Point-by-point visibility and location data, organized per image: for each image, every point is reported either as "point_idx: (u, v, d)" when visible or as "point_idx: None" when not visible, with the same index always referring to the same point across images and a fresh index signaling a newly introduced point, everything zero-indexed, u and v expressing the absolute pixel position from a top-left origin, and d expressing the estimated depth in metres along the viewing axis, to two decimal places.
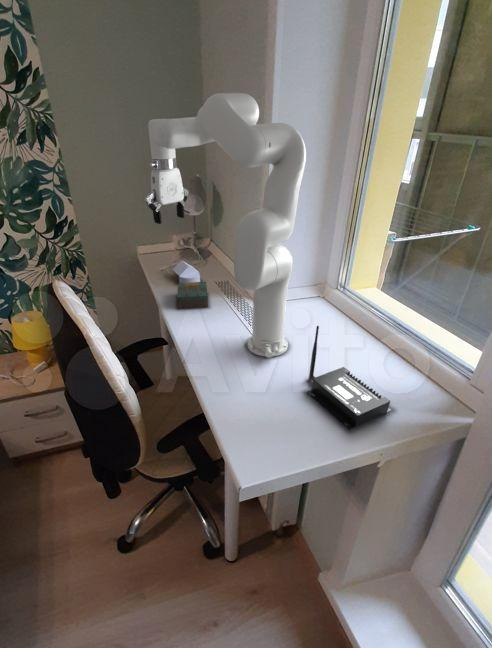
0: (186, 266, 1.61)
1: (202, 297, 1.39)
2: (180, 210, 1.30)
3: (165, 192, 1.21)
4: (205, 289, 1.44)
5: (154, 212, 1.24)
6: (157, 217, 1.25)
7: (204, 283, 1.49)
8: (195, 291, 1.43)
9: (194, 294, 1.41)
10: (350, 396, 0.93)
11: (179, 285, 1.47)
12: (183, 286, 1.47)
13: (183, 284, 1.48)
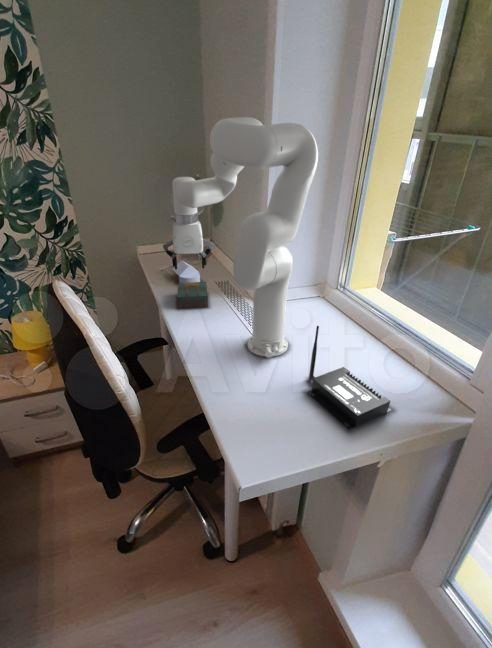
0: (186, 266, 1.61)
1: (202, 297, 1.39)
2: (202, 261, 1.33)
3: (180, 243, 1.27)
4: (205, 289, 1.44)
5: (172, 258, 1.33)
6: (173, 263, 1.33)
7: (204, 283, 1.49)
8: (195, 291, 1.43)
9: (194, 294, 1.41)
10: (350, 396, 0.93)
11: (179, 285, 1.47)
12: (183, 286, 1.47)
13: (183, 284, 1.48)
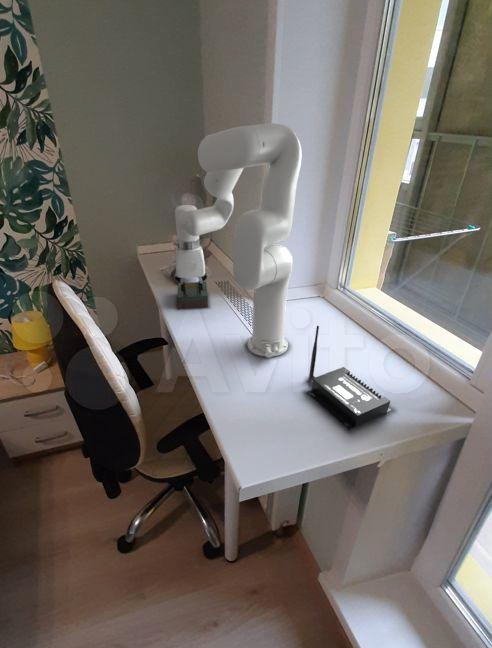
0: None
1: (202, 297, 1.39)
2: None
3: (182, 268, 1.32)
4: (205, 289, 1.44)
5: None
6: (182, 288, 1.38)
7: (204, 283, 1.49)
8: (195, 291, 1.43)
9: (194, 294, 1.41)
10: (350, 396, 0.93)
11: (179, 285, 1.47)
12: None
13: None
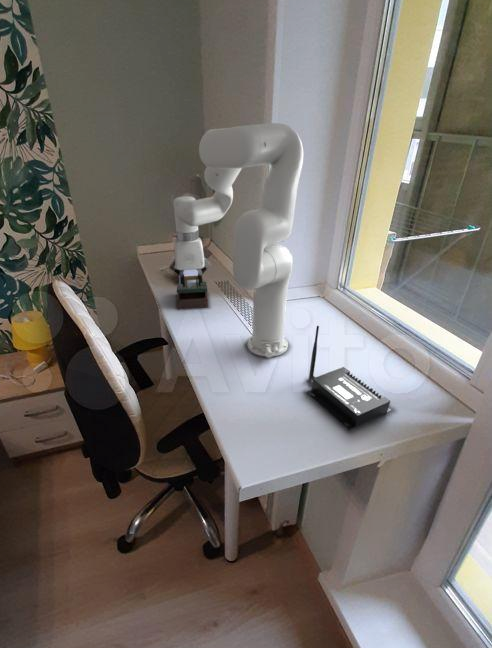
0: None
1: (202, 290, 1.38)
2: (198, 279, 1.38)
3: (181, 260, 1.32)
4: (205, 285, 1.44)
5: (180, 276, 1.37)
6: (181, 281, 1.38)
7: (204, 282, 1.49)
8: (195, 286, 1.42)
9: (194, 287, 1.40)
10: (350, 396, 0.93)
11: (179, 284, 1.47)
12: (182, 284, 1.47)
13: None
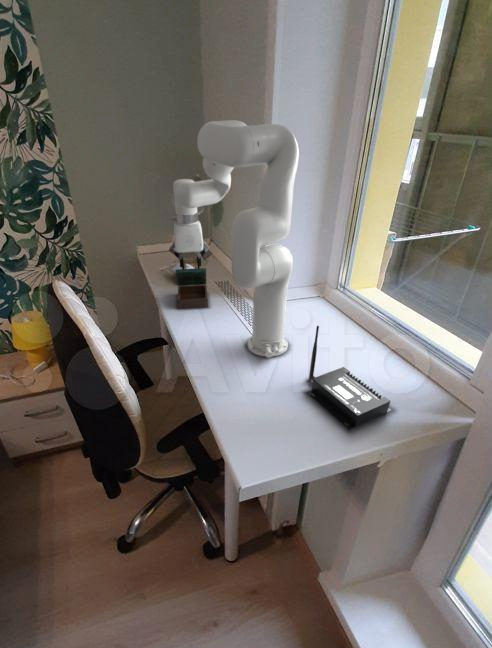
0: (186, 266, 1.61)
1: (200, 269, 1.37)
2: (197, 262, 1.40)
3: (181, 242, 1.34)
4: None
5: (179, 259, 1.40)
6: (180, 264, 1.40)
7: None
8: None
9: None
10: (350, 396, 0.93)
11: None
12: None
13: None
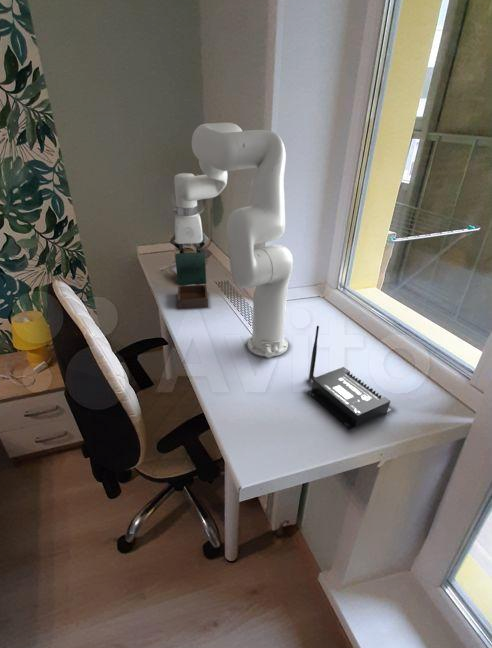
0: None
1: (199, 253, 1.41)
2: None
3: (181, 234, 1.40)
4: None
5: None
6: None
7: None
8: None
9: None
10: (350, 396, 0.93)
11: None
12: None
13: None
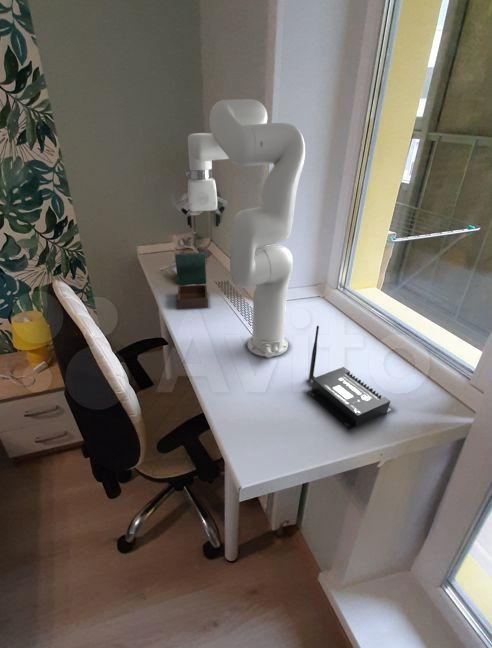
0: None
1: (199, 253, 1.41)
2: (216, 219, 1.37)
3: (195, 200, 1.31)
4: None
5: (187, 217, 1.36)
6: (188, 221, 1.36)
7: None
8: None
9: None
10: (350, 396, 0.93)
11: None
12: None
13: None
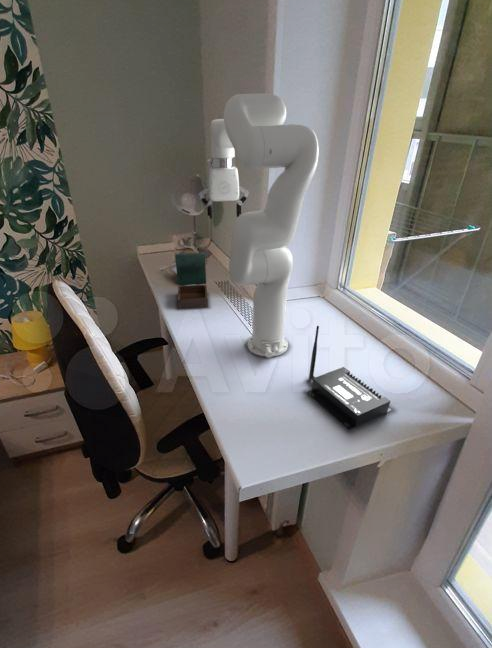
0: None
1: (199, 253, 1.41)
2: (237, 209, 1.32)
3: (216, 189, 1.26)
4: None
5: (207, 207, 1.31)
6: (208, 212, 1.32)
7: None
8: None
9: None
10: (350, 396, 0.93)
11: None
12: None
13: None
